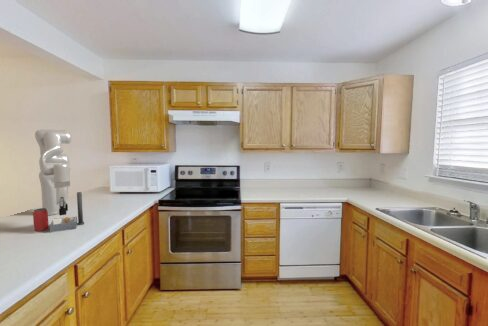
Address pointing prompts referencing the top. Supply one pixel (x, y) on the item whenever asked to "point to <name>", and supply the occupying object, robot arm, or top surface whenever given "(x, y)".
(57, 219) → the white block
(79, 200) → the post
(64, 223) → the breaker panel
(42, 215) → the beer can
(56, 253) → the top surface
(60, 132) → the robot arm
